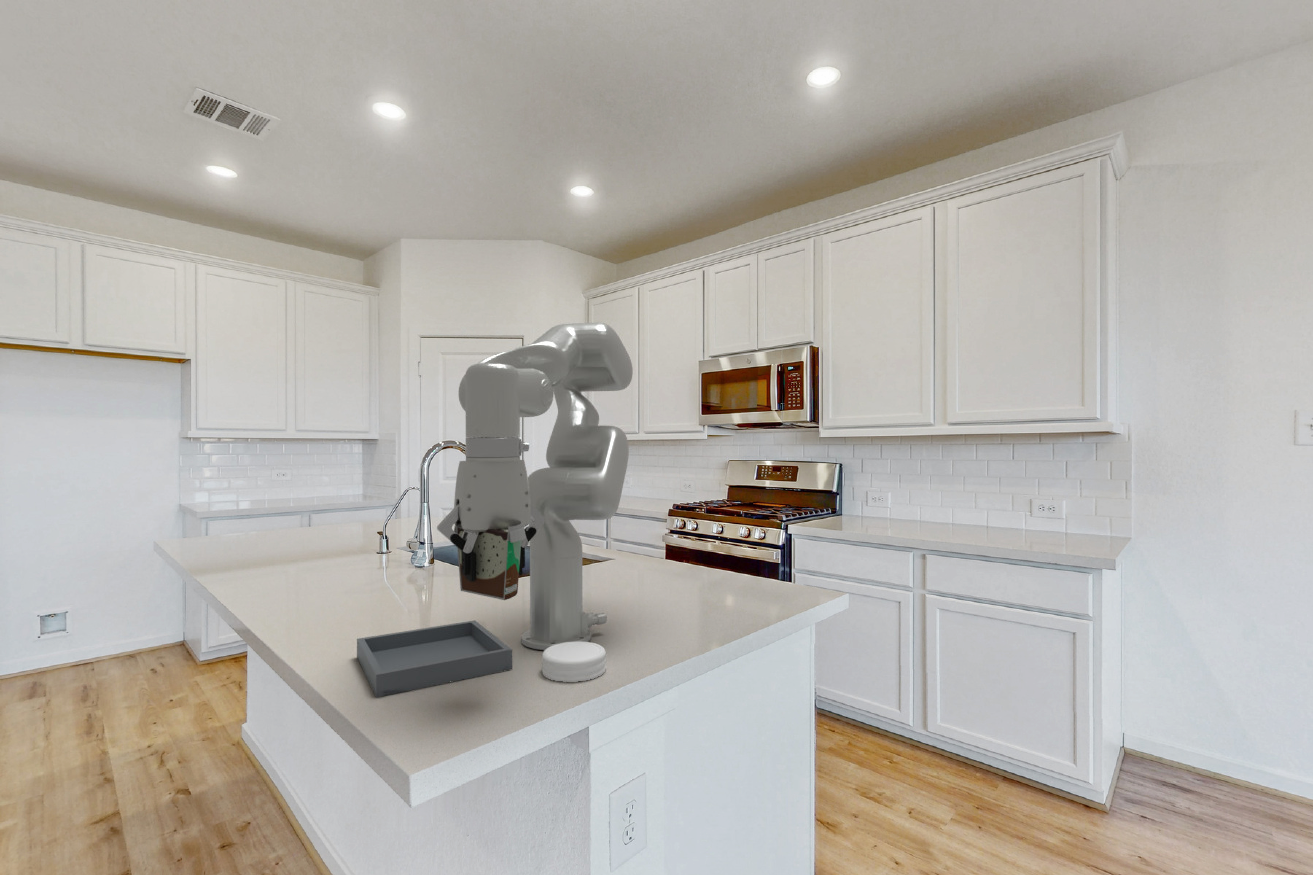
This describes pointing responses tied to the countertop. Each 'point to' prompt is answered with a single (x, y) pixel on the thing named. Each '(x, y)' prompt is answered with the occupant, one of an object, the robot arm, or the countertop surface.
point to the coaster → (574, 661)
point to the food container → (495, 562)
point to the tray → (430, 657)
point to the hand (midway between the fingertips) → (493, 575)
